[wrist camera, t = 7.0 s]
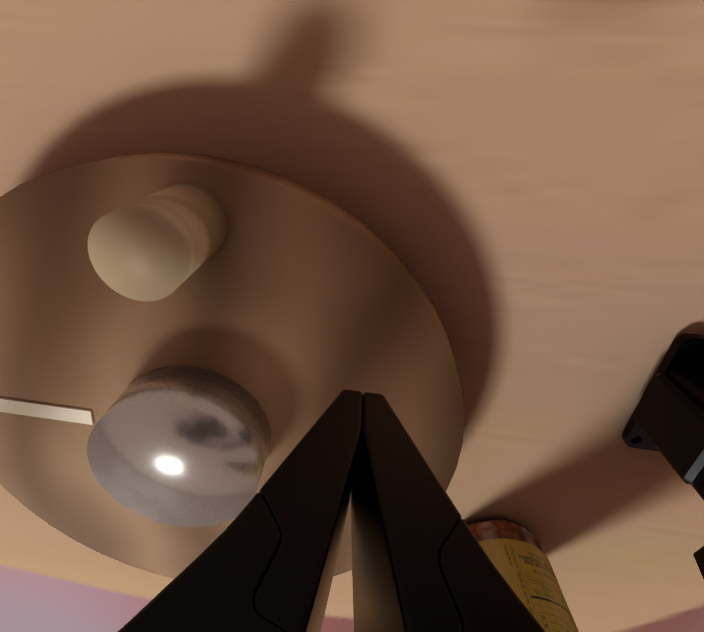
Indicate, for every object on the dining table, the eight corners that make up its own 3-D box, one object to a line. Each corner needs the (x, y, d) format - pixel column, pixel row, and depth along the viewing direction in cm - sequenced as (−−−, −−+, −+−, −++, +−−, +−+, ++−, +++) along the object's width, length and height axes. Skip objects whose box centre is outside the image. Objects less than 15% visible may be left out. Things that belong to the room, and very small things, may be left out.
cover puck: (274, 376, 18) (259, 415, 16) (268, 490, 21) (256, 536, 19) (110, 354, 18) (72, 391, 16) (129, 472, 21) (100, 516, 19)
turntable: (528, 203, 16) (597, 253, 11) (405, 584, 27) (411, 695, 22) (-122, 106, 16) (-357, 111, 11) (23, 532, 27) (-58, 632, 22)
